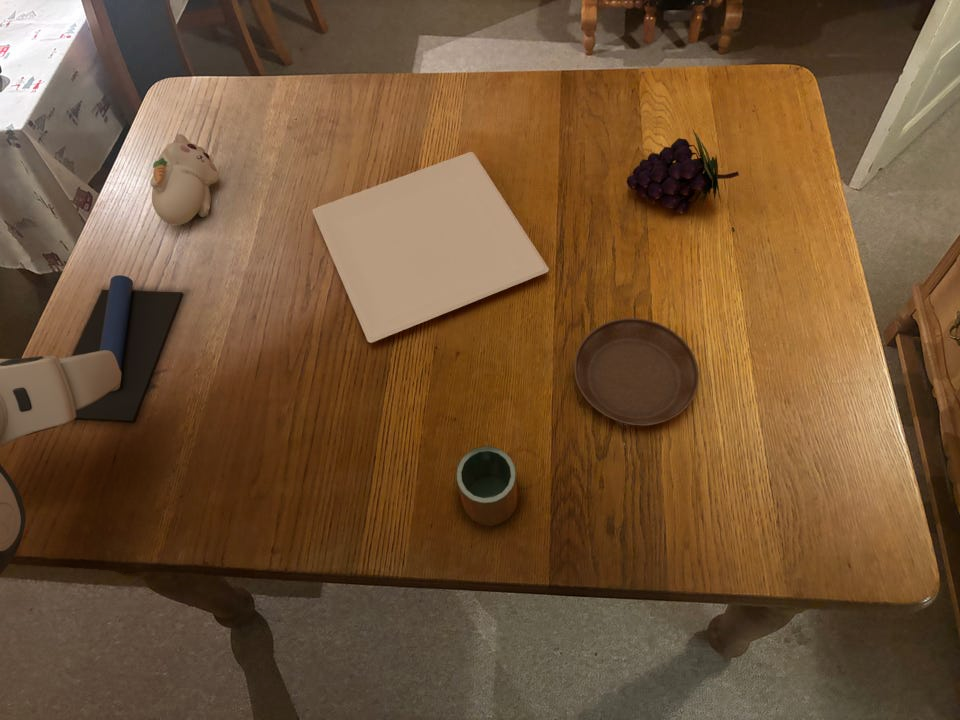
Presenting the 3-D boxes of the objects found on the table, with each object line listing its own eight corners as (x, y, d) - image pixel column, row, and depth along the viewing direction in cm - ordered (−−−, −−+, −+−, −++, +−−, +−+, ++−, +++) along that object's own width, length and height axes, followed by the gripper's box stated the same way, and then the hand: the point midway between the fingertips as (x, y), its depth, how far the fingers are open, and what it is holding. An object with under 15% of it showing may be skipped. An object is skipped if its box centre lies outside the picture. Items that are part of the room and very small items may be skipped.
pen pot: (493, 537, 73) (489, 515, 66) (451, 502, 75) (444, 478, 68) (528, 495, 75) (528, 469, 68) (486, 463, 78) (482, 435, 71)
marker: (106, 275, 91) (89, 380, 82) (129, 273, 92) (114, 378, 83) (114, 289, 94) (98, 392, 85) (137, 287, 94) (123, 390, 85)
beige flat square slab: (371, 351, 86) (368, 342, 85) (314, 217, 99) (310, 208, 97) (549, 279, 91) (550, 269, 89) (473, 159, 103) (472, 149, 101)
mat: (134, 422, 83) (132, 420, 83) (46, 417, 84) (43, 416, 84) (183, 294, 93) (182, 291, 93) (104, 291, 94) (102, 289, 94)
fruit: (631, 193, 102) (735, 176, 97) (632, 237, 95) (743, 221, 90) (622, 134, 94) (734, 113, 90) (622, 177, 88) (742, 157, 83)
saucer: (718, 376, 81) (724, 365, 79) (644, 458, 77) (647, 449, 74) (623, 310, 87) (626, 298, 85) (548, 382, 82) (549, 371, 80)
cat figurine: (154, 193, 91) (174, 110, 97) (123, 213, 95) (144, 132, 101) (215, 226, 98) (230, 147, 104) (183, 244, 102) (200, 167, 108)
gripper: (-136, 458, 61) (-33, 412, 74) (86, 420, 61) (148, 380, 75) (-163, 394, 59) (-53, 358, 73) (65, 355, 60) (132, 326, 73)
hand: (51, 369), depth 74 cm, fingers open, 8 cm apart
